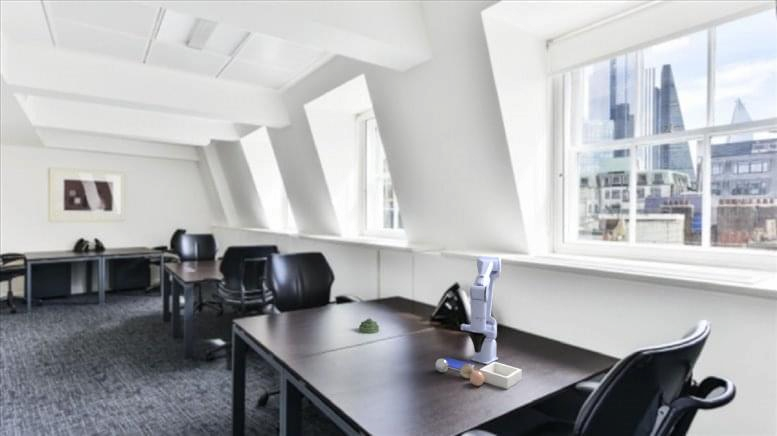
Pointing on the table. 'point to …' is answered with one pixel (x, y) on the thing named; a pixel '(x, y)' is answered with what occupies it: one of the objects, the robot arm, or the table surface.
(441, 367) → the steel ball
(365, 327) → the decorative artifact
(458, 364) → the hard drive
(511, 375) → the off-white bin
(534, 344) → the table surface
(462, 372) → the light oak ball
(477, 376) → the terracotta ball
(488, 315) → the robot arm
